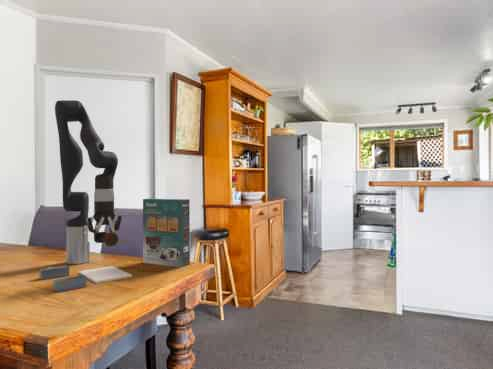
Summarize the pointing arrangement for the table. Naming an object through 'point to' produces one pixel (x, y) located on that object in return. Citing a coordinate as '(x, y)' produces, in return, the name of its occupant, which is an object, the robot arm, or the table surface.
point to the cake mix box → (166, 232)
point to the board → (104, 274)
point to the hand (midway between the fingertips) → (104, 241)
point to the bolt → (108, 238)
